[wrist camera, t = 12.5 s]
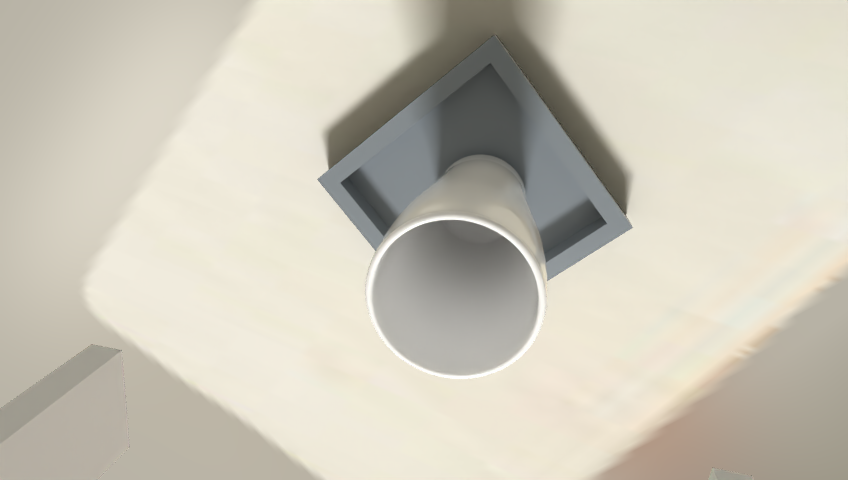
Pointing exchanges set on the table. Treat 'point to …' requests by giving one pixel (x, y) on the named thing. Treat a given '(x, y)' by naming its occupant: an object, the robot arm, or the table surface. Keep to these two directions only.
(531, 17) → the table surface
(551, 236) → the grey tray
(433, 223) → the white cup
